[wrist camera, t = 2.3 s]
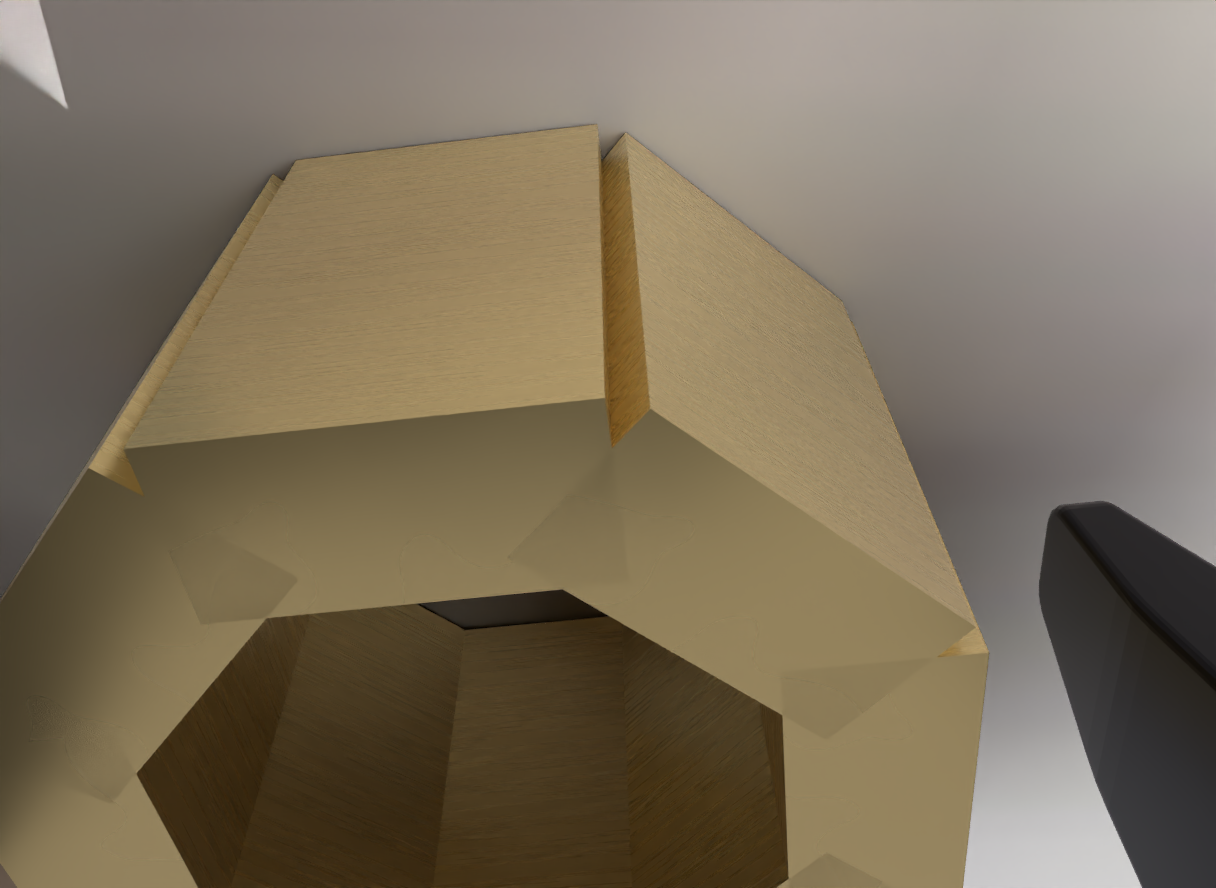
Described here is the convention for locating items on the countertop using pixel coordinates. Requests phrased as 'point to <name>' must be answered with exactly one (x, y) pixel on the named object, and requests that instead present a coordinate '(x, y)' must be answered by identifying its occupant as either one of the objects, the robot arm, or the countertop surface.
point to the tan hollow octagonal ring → (493, 561)
